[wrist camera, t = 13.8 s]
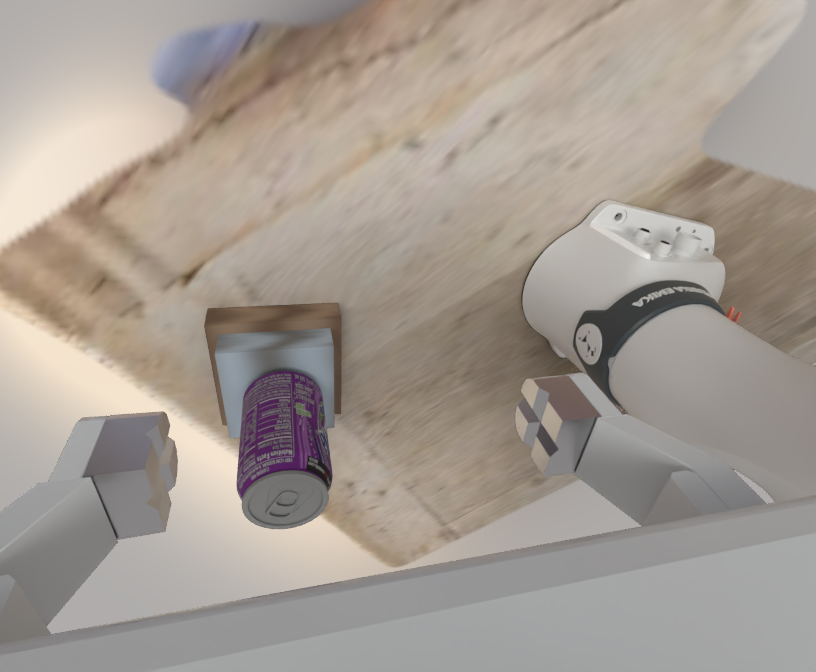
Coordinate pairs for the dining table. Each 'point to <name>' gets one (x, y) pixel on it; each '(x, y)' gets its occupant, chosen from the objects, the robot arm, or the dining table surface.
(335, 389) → the stepped plinth
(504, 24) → the dining table surface
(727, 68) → the dining table surface
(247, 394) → the beverage can
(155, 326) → the dining table surface
